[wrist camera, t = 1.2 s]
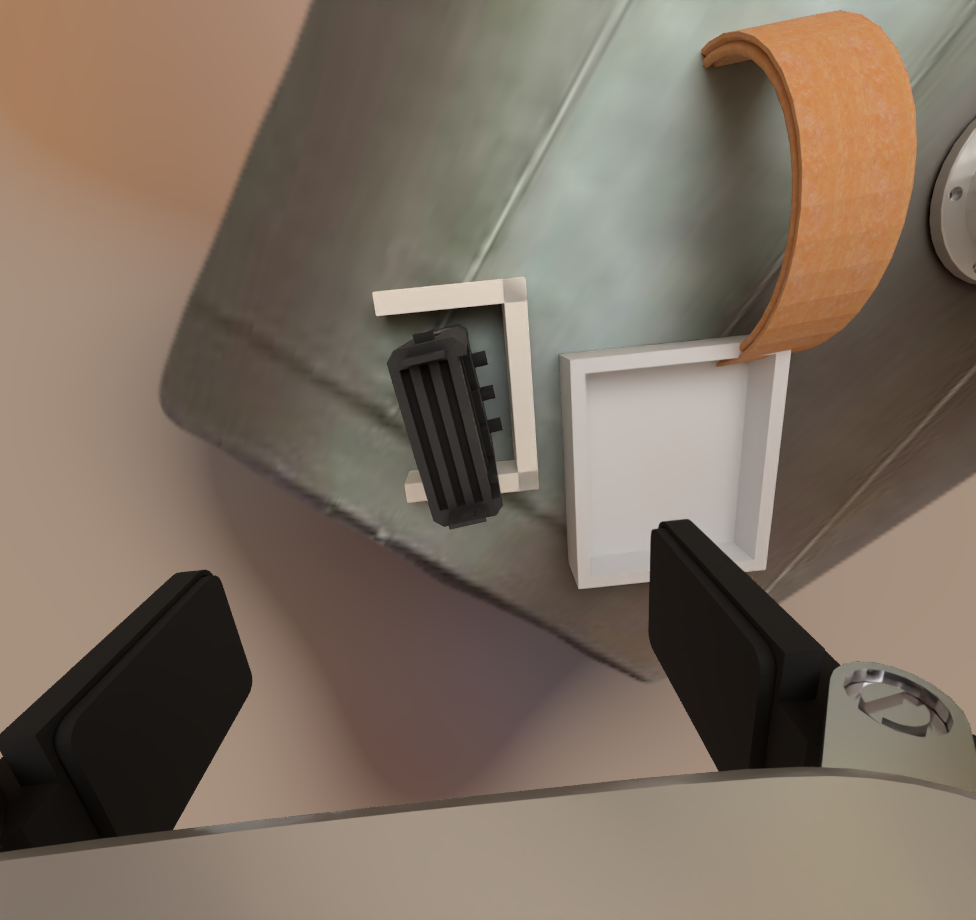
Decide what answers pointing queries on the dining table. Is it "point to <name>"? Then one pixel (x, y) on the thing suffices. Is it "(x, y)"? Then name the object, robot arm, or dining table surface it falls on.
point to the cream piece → (518, 361)
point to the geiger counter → (448, 424)
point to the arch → (831, 167)
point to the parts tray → (668, 452)
